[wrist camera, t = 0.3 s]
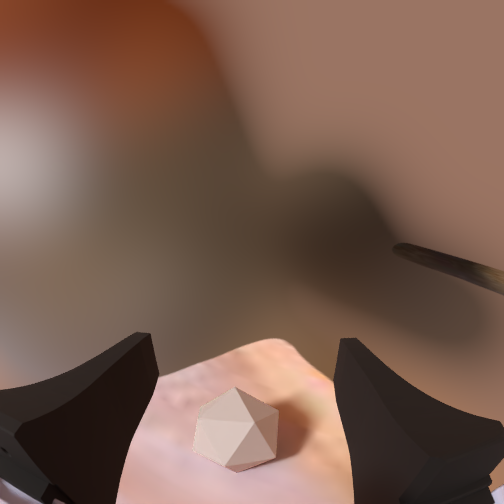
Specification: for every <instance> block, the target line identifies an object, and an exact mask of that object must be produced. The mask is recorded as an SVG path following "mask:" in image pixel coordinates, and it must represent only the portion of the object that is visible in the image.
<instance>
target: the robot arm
mask: <svg viewBox="0 0 504 504" xmlns="http://www.w3.org/2000/svg"><path fill="white" fill-rule="evenodd" d="M158 376H159V370H158V366H157V362H156V358H155V353H154V348H153V344H152V339H151V334H150V333H140V332H136V333H134V334H132V335H130V336H128V337H127V338H125V339H124V340H122V341H121V342H119V343H117V344H116V345H114V346H113V347H111V348H109V349H108V350H106V351H104V352H103V353H101V354H100V355H98V356H96V357H94V358H93V359H91V360H89V361H87V362H85V363H84V364H82V365H80V366H78V367H76V368H74V369H72V370H70V371H68V372H65V373H63V374H61V375H58V376H56V377H53V378H50V379H47V380H44V381H41V382H38V383H35V384H31V385H27V386H23V387H17V388H12V389H5V390H0V504H116V498H117V493H118V488H119V483H120V478H121V475H122V471H123V467H124V463H125V459H126V456H127V453H128V450H129V446H130V443H131V441H132V438H133V436H134V434H135V431H136V429H137V427H138V425H139V423H140V421H141V419H142V417H143V415H144V413H145V410H146V408H147V406H148V404H149V402H150V400H151V398H152V395H153V393H154V390H155V387H156V383H157V380H158ZM334 388H335V396H336V402H337V406H338V410H339V414H340V417H341V421H342V425H343V429H344V432H345V436H346V440H347V444H348V448H349V453H350V459H351V467H352V476H353V488H354V504H504V484H503V485H501V486H499V487H498V488H496V489H495V490H494V491H492V492H490V490H489V487H488V486H490V485H491V483H492V480H491V478H490V475H489V474H490V473H491V472H492V471H493V470H494V469H495V467H496V466H497V465H498V464H499V463H500V462H501V460H502V459H503V458H504V427H503V425H502V424H501V422H500V421H496V420H492V419H488V418H484V417H479V416H476V415H472V414H469V413H467V412H463V411H461V410H458V409H456V408H453V407H451V406H449V405H446V404H444V403H442V402H440V401H438V400H436V399H434V398H432V397H430V396H429V395H427V394H425V393H424V392H422V391H420V390H419V389H417V388H416V387H414V386H412V385H411V384H410V383H408V382H407V381H405V380H404V379H403V378H401V377H400V376H399V375H397V374H396V373H395V372H394V371H392V370H391V369H390V368H388V367H387V366H386V365H385V364H384V363H383V362H382V361H381V360H380V359H379V358H377V357H376V356H375V355H374V354H373V353H372V352H371V351H370V350H369V349H367V348H366V346H365V345H363V344H362V343H361V342H360V341H359V340H358V339H357V338H343V339H340V345H339V351H338V357H337V363H336V368H335V374H334Z"/></svg>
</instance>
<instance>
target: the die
mask: <svg viewBox="0 0 504 504" xmlns="http://www.w3.org/2000/svg"><path fill="white" fill-rule="evenodd" d="M278 420H279V410H277V409H275V408H273V407H271V406H269V405H268V404H266V403H264V402H262V401H260V400H258V399H256V398H254V397H252V396H251V395H249V394H247V393H245V392H243V391H242V390H240V389H238V388H236V387H233V388H232V389H230V390H228V391H227V392H225V393H223V394H222V395H220V396H218V397H216V398H215V399H213V400H211V401H209V402H208V403H206V404H204V405H202V406H200V409H199V415H198V420H197V426H196V431H195V437H194V443H193V449H192V451H194V452H196V453H198V454H200V455H201V456H203V457H205V458H207V459H209V460H211V461H213V462H215V463H217V464H219V465H221V466H223V467H226V468H228V469H230V470H232V471H234V472H236V473H237V472H240V471H243V470H245V469H248V468H251V467H253V466H256V465H259V464H261V463H264V462H266V461H269V460H271V459H274V458H276V450H277V436H278Z"/></svg>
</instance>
